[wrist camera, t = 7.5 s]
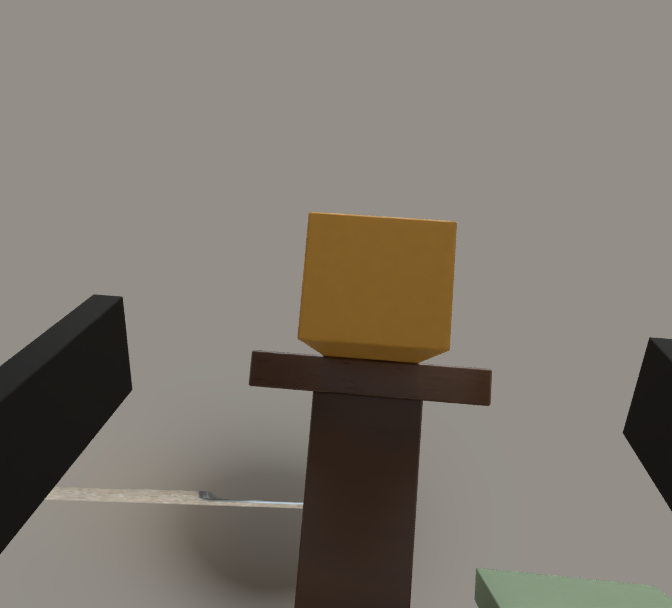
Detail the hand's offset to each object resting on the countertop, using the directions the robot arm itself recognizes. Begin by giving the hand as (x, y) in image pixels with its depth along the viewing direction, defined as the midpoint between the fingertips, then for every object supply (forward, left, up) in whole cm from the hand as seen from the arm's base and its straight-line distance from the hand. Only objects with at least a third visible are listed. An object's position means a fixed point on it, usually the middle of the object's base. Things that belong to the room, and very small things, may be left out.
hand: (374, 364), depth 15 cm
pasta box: (-2, +11, +1) cm, 11 cm away
